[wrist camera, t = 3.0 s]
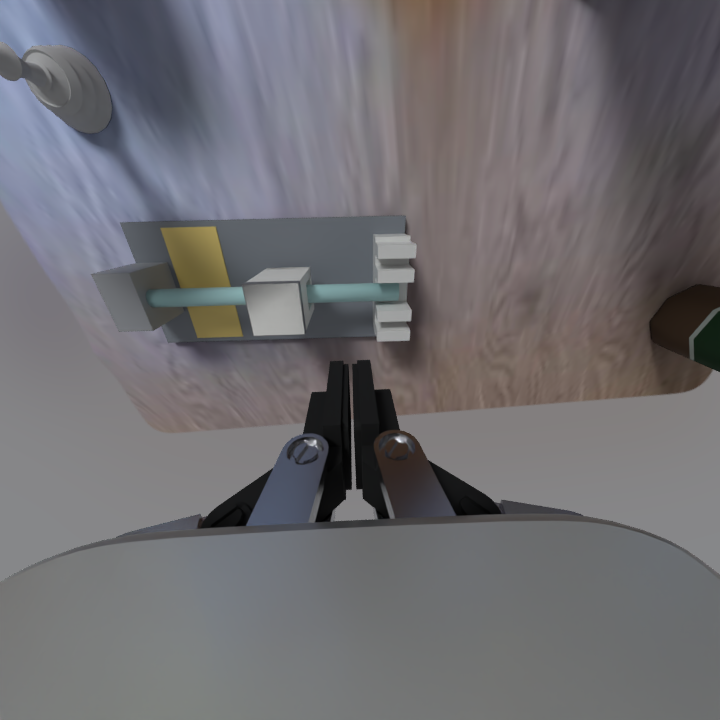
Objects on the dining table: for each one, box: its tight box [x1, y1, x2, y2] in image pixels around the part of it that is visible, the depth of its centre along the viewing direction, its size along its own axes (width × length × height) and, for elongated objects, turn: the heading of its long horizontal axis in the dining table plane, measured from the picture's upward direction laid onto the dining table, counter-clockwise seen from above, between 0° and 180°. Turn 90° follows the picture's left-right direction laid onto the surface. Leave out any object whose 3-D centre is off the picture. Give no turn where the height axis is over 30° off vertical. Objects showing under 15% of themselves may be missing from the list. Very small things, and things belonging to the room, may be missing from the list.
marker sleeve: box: [241, 267, 314, 336], centre depth 23 cm, size 4×4×6 cm
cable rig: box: [91, 216, 417, 343], centre depth 26 cm, size 26×12×6 cm, turn 91°
